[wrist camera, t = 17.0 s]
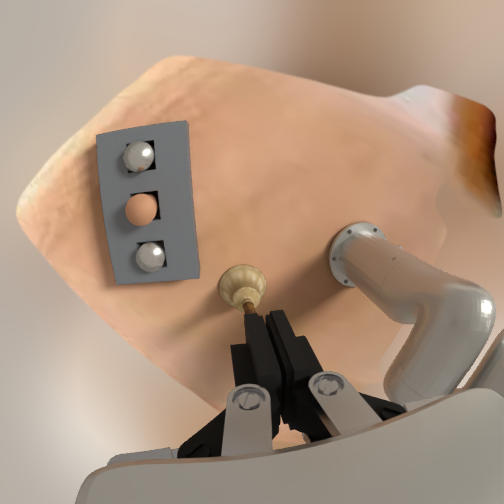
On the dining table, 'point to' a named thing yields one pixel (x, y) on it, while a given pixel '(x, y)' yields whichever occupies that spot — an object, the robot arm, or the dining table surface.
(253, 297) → the hand bell
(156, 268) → the silver rounded piece
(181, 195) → the panel
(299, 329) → the dining table surface
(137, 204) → the peach grooved knob
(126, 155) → the ball
